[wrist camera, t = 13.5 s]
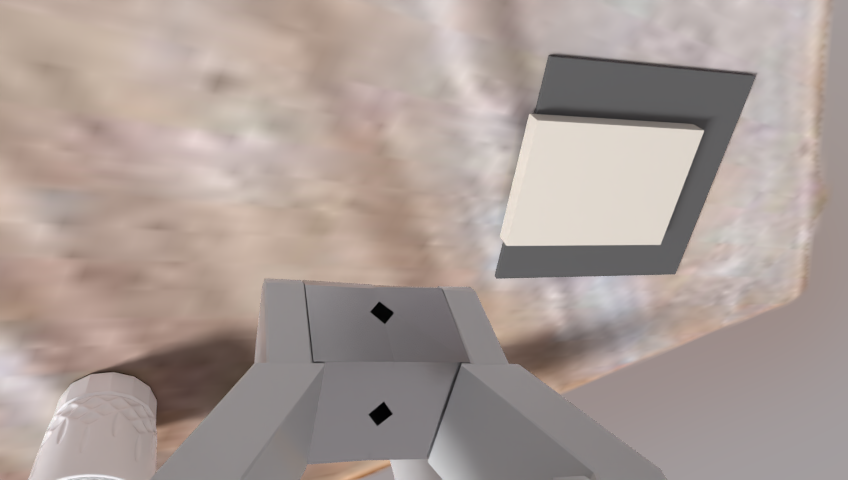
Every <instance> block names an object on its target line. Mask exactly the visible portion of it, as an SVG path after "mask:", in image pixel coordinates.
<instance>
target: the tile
mask: <svg viewBox="0 0 848 480" xmlns="http://www.w3.org/2000/svg"><path fill="white" fill-rule="evenodd" d="M703 133H704V130H703V129H701V128H699V127H697V126H696V125H694V124H686V123H670V122H654V121H639V120H623V119H607V118H592V117H576V116H560V115H545V114H529V117H528V121H527V125H526V130H525V134H524V138H523V142H522V146H521V150H520V155H519V159H518V163H517V167H516V171H515V175H514V179H513V184H512V188H511V192H510V196H509V200H508V204H507V209H506V213H505V217H504V221H503V225H502V229H501V234H500V238H501V239H502V241H503V242H504V243H505V245H506V246H568V245H661V242H662V240H663V237H664V235H665V232H666V229H667V227H668V224H669V222H670V219H671V216H672V214H673V211H674V209H675V206H676V203H677V201H678V198H679V196H680V193H681V190H682V188H683V185H684V182H685V180H686V177H687V175H688V172H689V169H690V167H691V164H692V162H693V159H694V156H695V154H696V151H697V149H698V146H699V143H700V141H701V138H702V136H703Z"/></svg>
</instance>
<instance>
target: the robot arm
mask: <svg viewBox="0 0 848 480" xmlns="http://www.w3.org/2000/svg"><path fill="white" fill-rule="evenodd" d="M408 459H428V463H429V464H430V465H431V467H432V468H433V469H434V470H435V471H436V472H437V474H438V475H439V476H440V477H441V478H442V479H443V480H667V479H666V477H665V475H664V474H663V472H662V470H661V469H660V468H658V467H657V466H655V465H654V464H653V463H651V462H650V461H649V460H647V459H646V458H645V457H643V456H642V455H641V454H639V453H638V452H636V451H635V450H634V449H632V448H631V447H630V446H629V445H627V444H626V443H624V442H623V441H622V440H620V439H619V438H618V437H616V436H615V435H614V434H612V433H611V432H609V431H608V430H607V429H605V428H604V427H603V426H601V425H600V424H599V423H597V422H596V421H595V420H593V419H592V418H591V417H589V416H588V415H587V414H585V413H584V412H583V411H581V410H580V409H578V408H577V407H576V406H574V405H573V404H572V403H570V402H569V401H568V400H566V399H565V398H564V397H562V396H561V395H560V394H558V393H557V392H556V391H554V390H553V389H552V388H550V387H549V386H548V385H546V384H545V383H543V382H542V381H541V380H539V379H538V378H537V377H535V376H534V375H533V374H531V373H530V372H529V371H527V370H526V369H525V368H523V367H522V366H520V365H519V364H509V363H508V361H507V359H506V356H505V354H504V352H503V350H502V348H501V346H500V343H499V341H498V339H497V337H496V335H495V333H494V331H493V328H492V326H491V324H490V322H489V320H488V318H487V315H486V313H485V311H484V309H483V307H482V305H481V303H480V300H479V298H478V296H477V294H476V292H475V290H473V289H472V288H471V287H439V286H438V287H437V288H434V287H407V286H380V285H370V284H354V283H338V282H323V281H307V280H303V281H301V280H285V279H264V283H263V286H262V294H261V303H260V312H259V321H258V329H257V338H256V350H255V363H254V364H253V365H252V366H251V368H250V369H249V370H248V371H247V372H246V373H245V374H244V375H243V376H242V378H241V379H240V380H239V381H238V382H237V383H236V384H235V385H234V386H233V388H232V389H231V390H230V391H229V392H228V393H227V394H226V395H225V396H224V398H223V399H222V400H221V401H220V402H219V403H218V404H217V405H216V407H215V408H214V409H213V410H212V411H211V412H210V413H209V414H208V415H207V417H206V418H205V419H204V420H203V421H202V422H201V423H200V424H199V425H198V427H197V428H196V429H195V430H194V431H193V432H192V433H191V434H190V435H189V437H188V438H187V439H186V440H185V441H184V442H183V443H182V444H181V445H180V447H179V448H178V449H177V450H176V451H175V452H174V453H173V454H172V455H171V457H170V458H169V459H168V460H167V461H166V462H165V463H164V464H163V465H162V467H161V468H160V469H159V470H158V471H157V472H156V473H155V474H154V475H153V477H152V478H151V479H150V480H300V478H301V476H302V475H303V473H304V471H305V469H306V466H307V464H320V463H334V462H348V461H362V460H408Z"/></svg>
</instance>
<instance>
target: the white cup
mask: <svg viewBox="0 0 848 480" xmlns="http://www.w3.org/2000/svg"><path fill="white" fill-rule="evenodd" d="M156 410H157V400H156V398H155V396H154V394H153V392H152V390H151V388H150V387H149V386H148V385H146V384H145V383H143V382H142V381H140V380H139V379H137V378H136V377H134V376H130V375H125V374H121V373H116V372H108V373H98V374H90V375H88V376H86V377H84V378H82V379H80V380H78V381H75V382H73V383H72V384H71V385H70V386H69V387H68V388H67V390H66V391H65V392H64V393H63V394H62V396H61V397H60V399H59V401H58V404H57V407H56V410H55V413H54V416H53V419H52V420H51V422H50V424H49V426H48V428H47V430H46V433H45V436H44V439H43V442H42V444H41V446H40V448H39V450H38V453H37V456H36V459H35V461H34V464H33V467H32V470H31V472H30V475H29V478H28V480H150V479H151V478H152V477H153V475H154V474H155V473H156V467H157V430H156Z"/></svg>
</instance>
